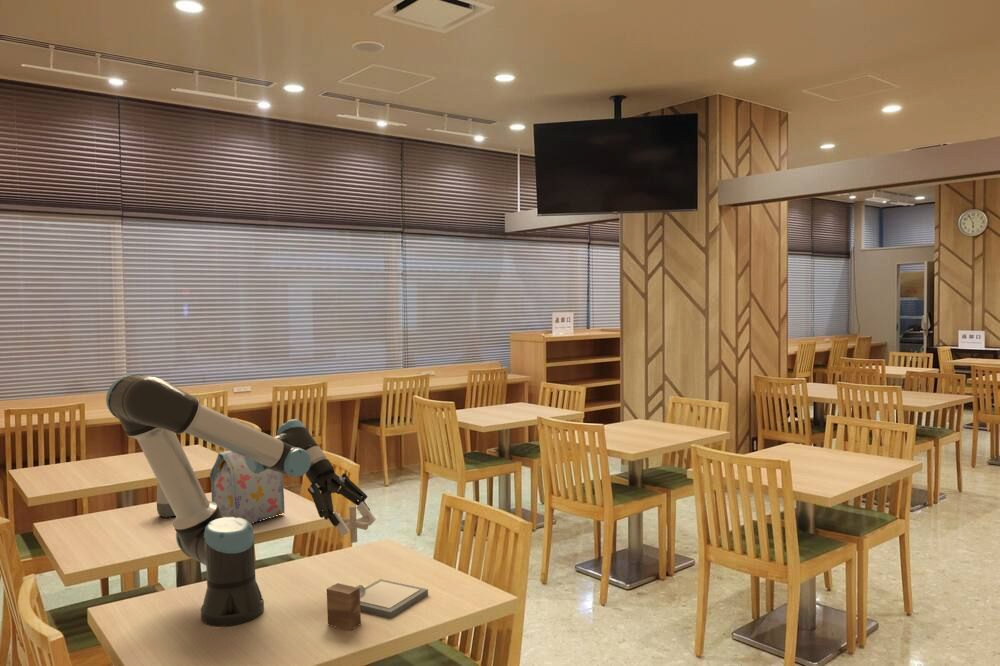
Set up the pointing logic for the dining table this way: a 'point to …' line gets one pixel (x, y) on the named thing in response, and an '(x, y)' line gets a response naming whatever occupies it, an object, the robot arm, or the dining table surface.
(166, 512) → the smart speaker
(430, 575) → the dining table surface
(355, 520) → the pipe connector
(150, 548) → the dining table surface
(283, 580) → the dining table surface
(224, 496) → the lunch bag
